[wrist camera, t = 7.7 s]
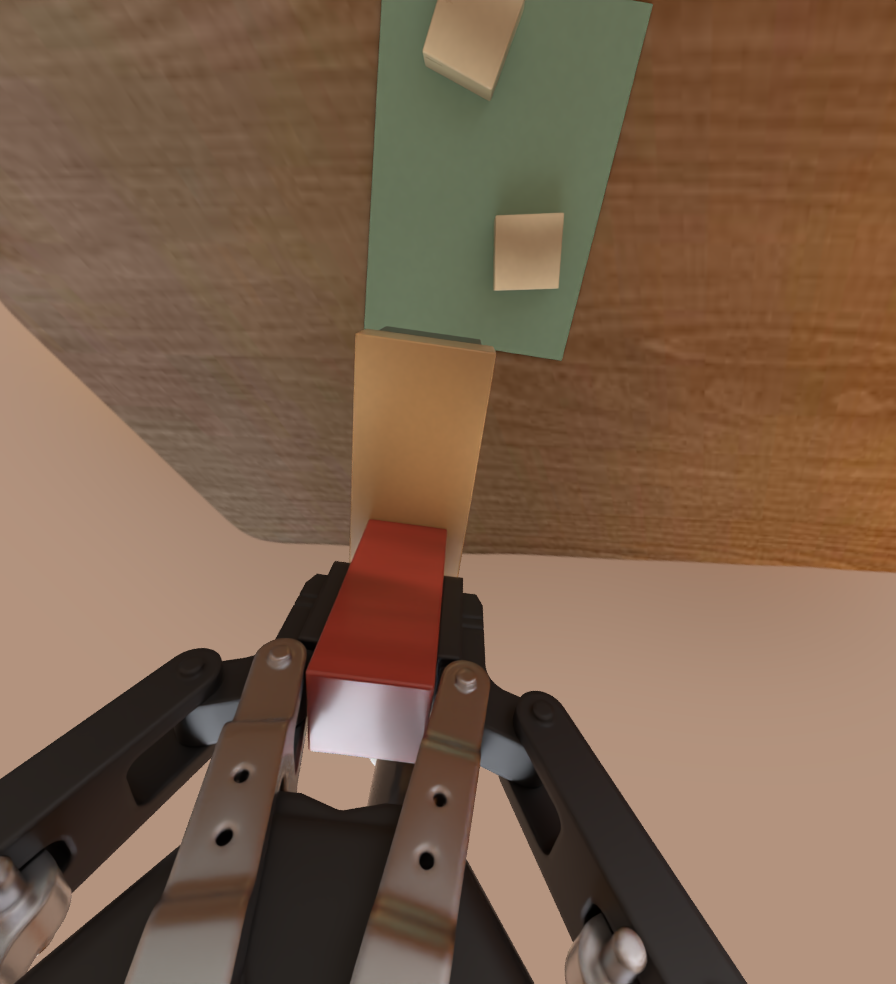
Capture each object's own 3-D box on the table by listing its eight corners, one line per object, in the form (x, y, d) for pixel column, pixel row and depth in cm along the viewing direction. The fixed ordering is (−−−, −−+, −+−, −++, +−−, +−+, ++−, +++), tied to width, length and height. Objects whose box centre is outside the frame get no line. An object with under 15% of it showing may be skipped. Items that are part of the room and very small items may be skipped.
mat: (561, 360, 30) (561, 360, 30) (364, 329, 29) (364, 329, 29) (651, 5, 22) (653, 3, 22) (384, -43, 22) (384, -46, 21)
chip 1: (490, 102, 24) (491, 90, 22) (424, 66, 23) (421, 51, 22) (523, 10, 22) (527, -9, 21) (453, -31, 21) (452, -54, 20)
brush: (440, 649, 23) (423, 885, 14) (360, 638, 23) (290, 870, 14) (491, 340, 16) (523, 419, 7) (374, 324, 16) (248, 381, 7)
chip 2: (553, 288, 28) (558, 288, 26) (492, 290, 28) (494, 290, 26) (559, 216, 26) (564, 212, 24) (493, 219, 26) (495, 215, 25)
